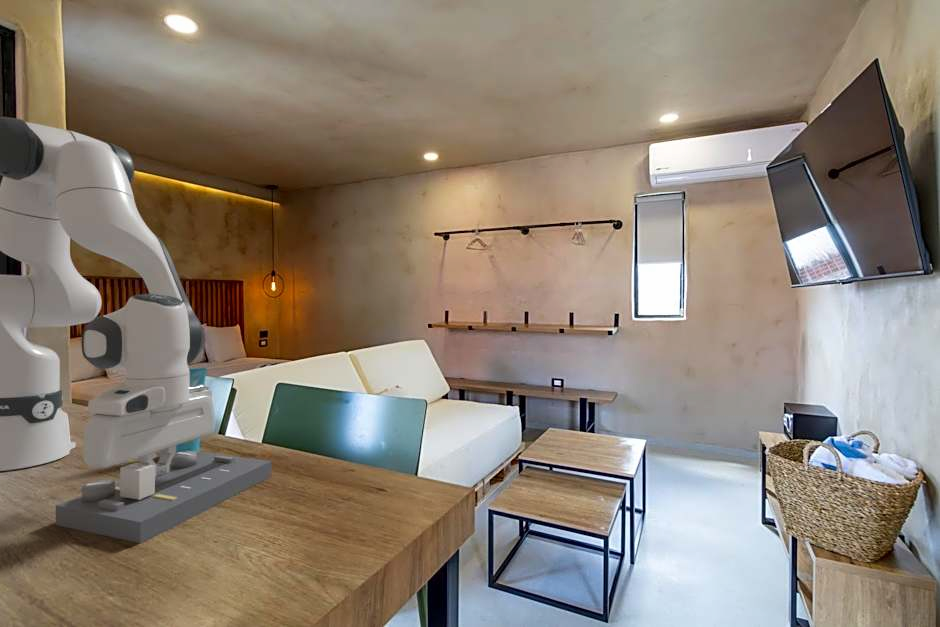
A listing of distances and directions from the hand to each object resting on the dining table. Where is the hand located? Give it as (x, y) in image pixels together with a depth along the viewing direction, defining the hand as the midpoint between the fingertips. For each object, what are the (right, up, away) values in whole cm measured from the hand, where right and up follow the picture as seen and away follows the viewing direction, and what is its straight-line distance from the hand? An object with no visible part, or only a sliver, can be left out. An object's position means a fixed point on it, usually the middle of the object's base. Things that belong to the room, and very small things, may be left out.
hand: (157, 476), depth 73 cm
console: (+1, -5, +4) cm, 6 cm away
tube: (-12, -5, +26) cm, 29 cm away
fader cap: (-1, -2, -3) cm, 4 cm away
